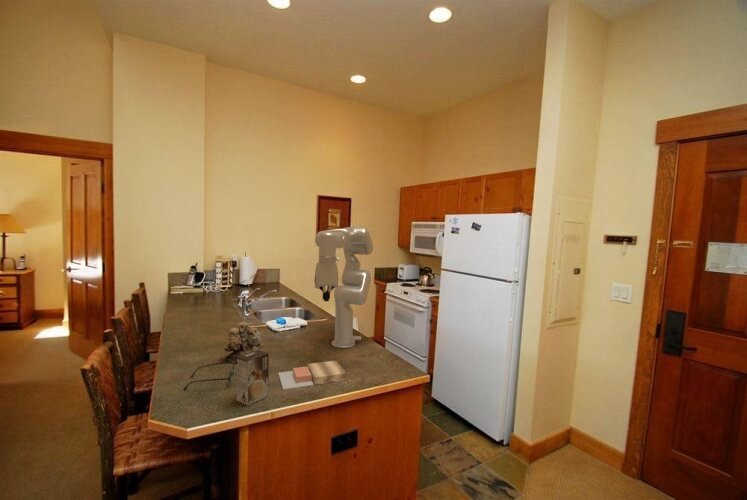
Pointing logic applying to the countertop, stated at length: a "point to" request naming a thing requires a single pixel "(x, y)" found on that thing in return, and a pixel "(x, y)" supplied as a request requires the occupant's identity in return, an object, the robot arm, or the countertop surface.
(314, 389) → the countertop surface
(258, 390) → the coffee box
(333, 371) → the plate
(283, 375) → the mat
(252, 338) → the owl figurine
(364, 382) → the countertop surface
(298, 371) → the salmon pink rectangular block
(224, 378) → the sunglasses
